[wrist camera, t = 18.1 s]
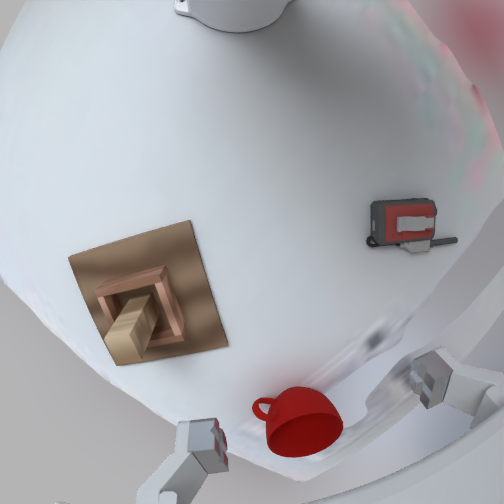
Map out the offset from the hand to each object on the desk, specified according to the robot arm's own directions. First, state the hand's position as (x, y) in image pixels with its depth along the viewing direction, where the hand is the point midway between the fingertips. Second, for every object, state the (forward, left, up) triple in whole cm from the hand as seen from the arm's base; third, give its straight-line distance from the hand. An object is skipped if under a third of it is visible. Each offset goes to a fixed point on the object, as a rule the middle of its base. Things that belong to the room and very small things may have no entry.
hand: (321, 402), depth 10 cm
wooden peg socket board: (+6, -18, -32) cm, 37 cm away
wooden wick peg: (+6, -18, -31) cm, 36 cm away
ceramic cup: (+31, -1, -32) cm, 45 cm away
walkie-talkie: (+5, +27, -32) cm, 42 cm away
